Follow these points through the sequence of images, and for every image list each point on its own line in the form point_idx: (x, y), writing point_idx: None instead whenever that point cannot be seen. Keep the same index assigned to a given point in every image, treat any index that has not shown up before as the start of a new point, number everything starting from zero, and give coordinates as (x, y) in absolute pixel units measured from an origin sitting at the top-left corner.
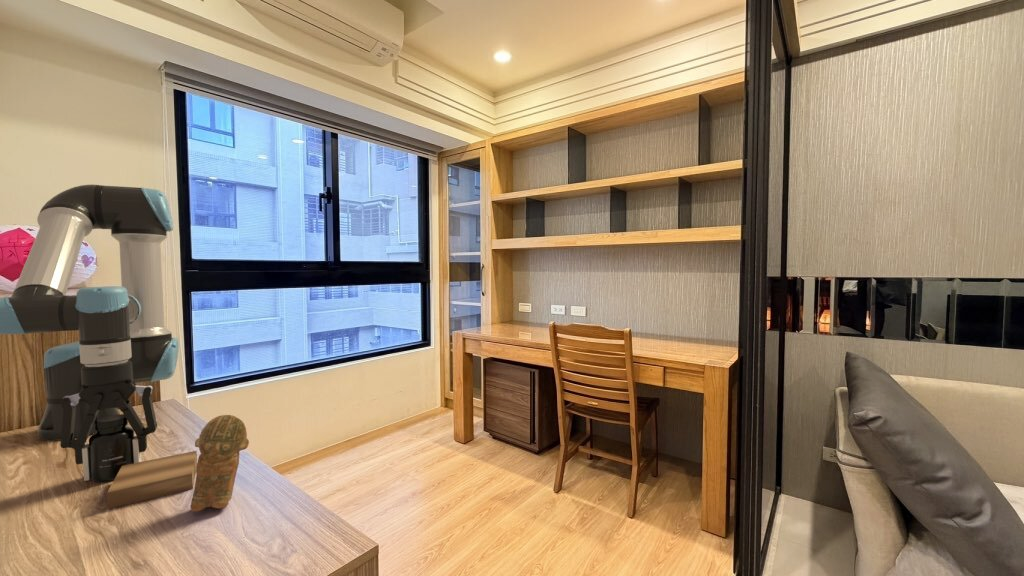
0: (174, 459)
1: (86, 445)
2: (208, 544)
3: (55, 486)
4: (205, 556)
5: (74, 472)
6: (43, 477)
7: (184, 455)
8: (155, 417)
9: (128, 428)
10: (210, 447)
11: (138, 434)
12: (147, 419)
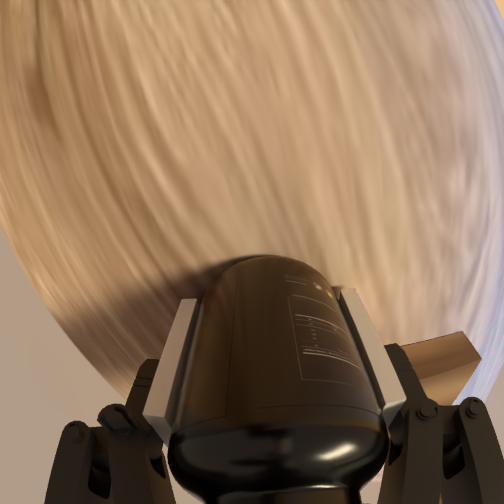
0: (430, 395)
1: (157, 426)
2: (382, 473)
3: (114, 307)
4: (375, 478)
5: (105, 205)
6: (38, 205)
7: (454, 379)
8: (499, 448)
9: (366, 484)
10: None
11: (394, 451)
12: (447, 497)
